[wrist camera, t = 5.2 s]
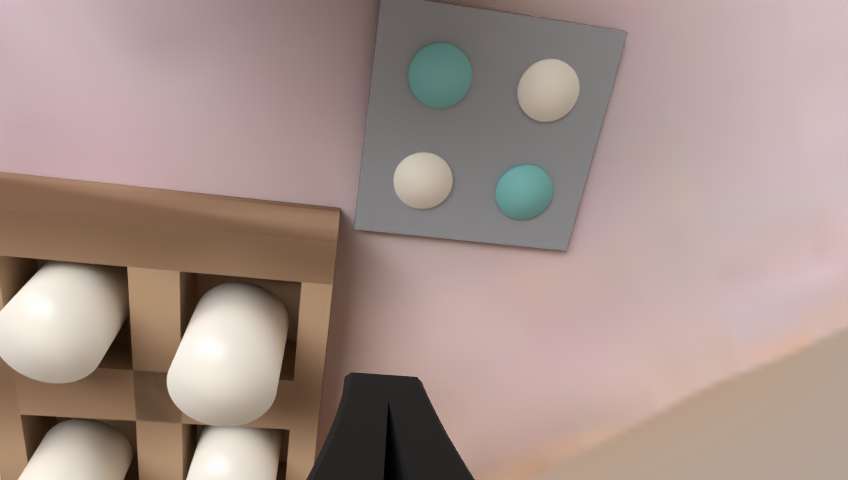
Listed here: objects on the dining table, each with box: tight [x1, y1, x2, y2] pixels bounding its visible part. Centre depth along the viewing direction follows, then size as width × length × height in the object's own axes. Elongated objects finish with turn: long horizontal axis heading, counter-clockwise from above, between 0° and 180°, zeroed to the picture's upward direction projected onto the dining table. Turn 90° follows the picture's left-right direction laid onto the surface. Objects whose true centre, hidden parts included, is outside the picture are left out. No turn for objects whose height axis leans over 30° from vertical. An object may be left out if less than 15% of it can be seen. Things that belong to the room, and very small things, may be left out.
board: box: [0, 172, 340, 480], centre depth 21 cm, size 12×10×2 cm
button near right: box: [167, 282, 289, 427], centre depth 18 cm, size 3×3×3 cm
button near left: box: [0, 260, 130, 383], centre depth 19 cm, size 3×3×3 cm
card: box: [354, 0, 628, 251], centre depth 19 cm, size 7×7×1 cm
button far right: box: [186, 425, 283, 480], centre depth 22 cm, size 3×3×3 cm
